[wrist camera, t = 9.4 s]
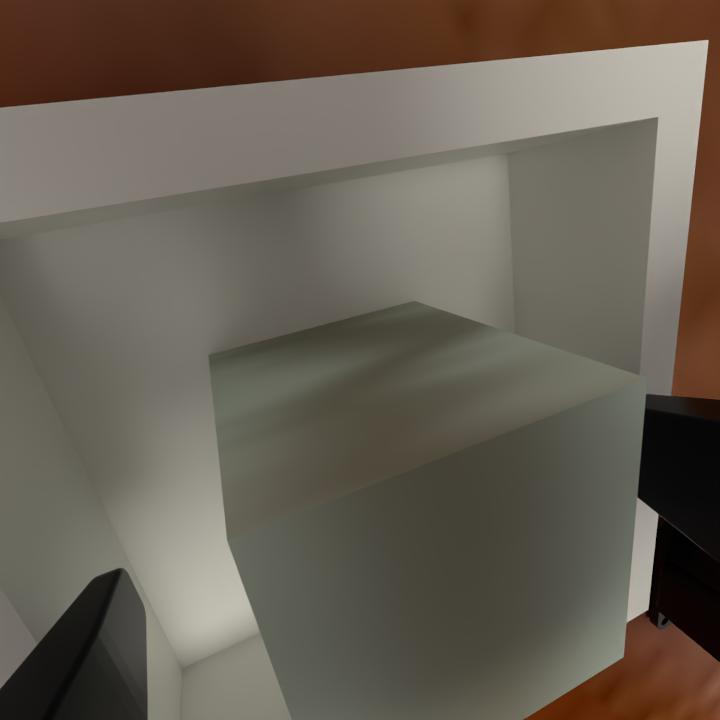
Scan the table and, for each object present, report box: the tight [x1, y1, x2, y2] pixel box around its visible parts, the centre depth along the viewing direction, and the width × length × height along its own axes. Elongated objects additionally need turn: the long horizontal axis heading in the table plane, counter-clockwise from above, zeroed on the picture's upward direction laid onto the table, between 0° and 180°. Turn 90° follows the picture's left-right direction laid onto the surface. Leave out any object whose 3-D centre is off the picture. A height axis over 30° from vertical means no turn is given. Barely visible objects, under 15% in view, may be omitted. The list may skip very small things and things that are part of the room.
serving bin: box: [0, 40, 709, 720], centre depth 9 cm, size 13×13×4 cm
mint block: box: [208, 301, 647, 720], centre depth 8 cm, size 5×5×6 cm
